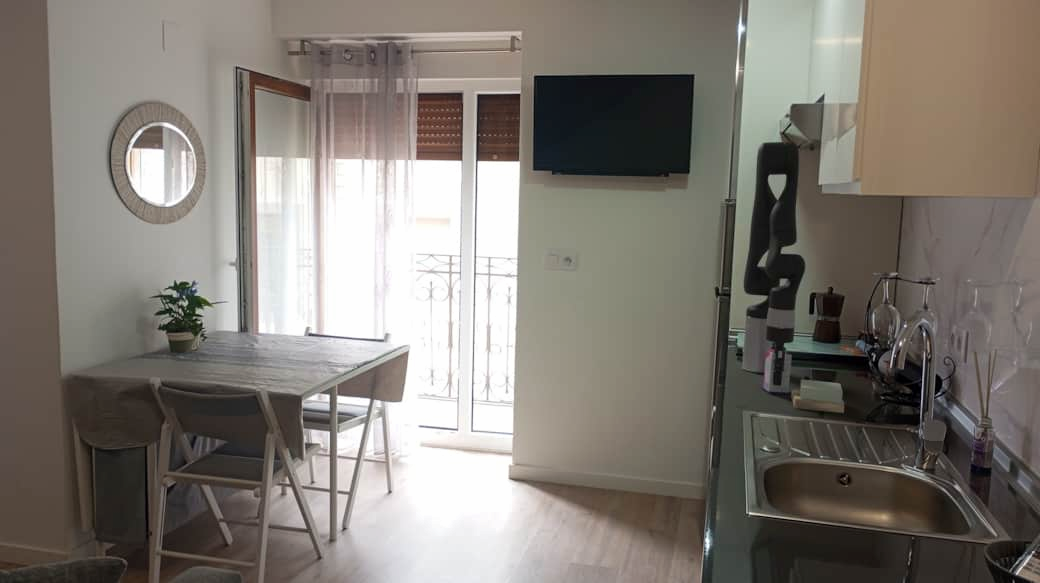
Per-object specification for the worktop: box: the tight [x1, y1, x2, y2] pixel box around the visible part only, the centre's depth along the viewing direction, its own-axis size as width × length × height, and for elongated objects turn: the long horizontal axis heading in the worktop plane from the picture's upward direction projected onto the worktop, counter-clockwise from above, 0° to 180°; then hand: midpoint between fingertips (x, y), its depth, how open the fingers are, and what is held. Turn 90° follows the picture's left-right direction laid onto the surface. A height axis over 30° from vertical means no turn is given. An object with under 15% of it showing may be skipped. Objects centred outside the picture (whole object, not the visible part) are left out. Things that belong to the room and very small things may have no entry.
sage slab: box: [799, 378, 843, 403], centre depth 208 cm, size 10×10×3 cm
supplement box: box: [762, 350, 793, 395], centre depth 221 cm, size 6×6×12 cm
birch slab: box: [791, 388, 845, 414], centre depth 208 cm, size 12×12×3 cm
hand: (776, 382), depth 221 cm, fingers closed on supplement box, 6 cm apart
